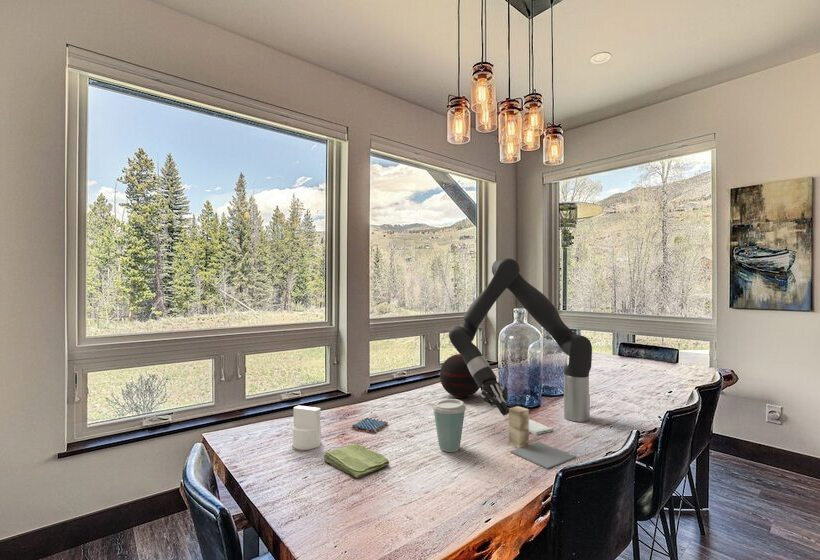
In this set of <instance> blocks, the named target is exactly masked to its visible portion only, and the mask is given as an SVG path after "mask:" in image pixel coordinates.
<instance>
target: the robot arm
mask: <svg viewBox="0 0 820 560" xmlns="http://www.w3.org/2000/svg"><path fill="white" fill-rule="evenodd" d="M491 273H492V275H493V276H492V278H491V280H490V282H489V283H488V284H487V286H486V287H485V289H483V290H482V292H481V293H480V294H479V295H478V296H477V297H476V298H475V299H474V300H473V302H472V303H471V304H470V306H469V307H468V309H467V310H466V312H465V313H464V315H463V321H464V323H463V325H462V326H459V325H455V326H452V327H451V328H450V329H449V330H448V331H449V332H448V338H449V341H450V342H451V344H452V346H453V347H454V349H455V350H456V351H457V352H458V354H460V355H461V356H462V358H463V360H464V361H465V363H466V365H467V367H468V369H469V371H470V373H471V375H472V377H473V378H474V380H475V382H476V384H477V385H478V387H479V389H480V391H481V392H480V393H479V395H478V397H479V398H480V399H481V400H483V401H484V402H486V403H487V404H489V405H490V406H495V407H497V409H498V410H499V412H500V414H501V415H502V416H503V417H504V416H507V415H509V407H508V406H507V403H506V401H507V400H508V386H501V384H500V382H499V381H497V376H496V374H495V372H494V370H493V369H492V367H491V365H490V364H489V361H488V360H487V359H485V357H484V355H483V354H482V352H481V350H480V349H479V348H478V347H477V346H476V344H474V343H473V341H474V339H475V338H476V337H475V336H476V335H477V332H478V330H479V326H480V325H481V323H482V322H483V321H484V319H485V317H487V315H488V313H489V311H490V310H491V308H492V307H493V306H494V304H495V303H496V301H497V300H498V299H499V298H500V296H501V295H502V294H503V292H504V291H506V289H508V291H510V292H511V294H512V295H513V296H514V297H515V299H516V300H517V301H518V302H519V304H520V305H521V306H522V307H523V308H524V309H525V310H526V312H527V313H528V314H529V315H530V317H532V318H533V319H534V320H535V321H536V322H537V323H538V324H539V325H540V326H541V327H542V328H543V329H544V330H545V331H546V332H547V333H548V334H549V335H550V336H551V337H552V339H553V340H554V341H555V343H556V344H557V345H558V346H559V349H560V350H562V352H563V353H564V354H565V355H567V356H568V364H567V365H566V366H565V367H564V368H563V418H564V419H566V420H569V421H572V422H580V423H581V422H582V423H583V422H588V421H589V419H590V417H591V416H590V413H591V410H590V409H591V408H590V407H591V406H590V405H591V404H590V402H591V401H590V400H591V395H590V371H591V369H592V361H593V346H592V341H590V339H589V338H588V337H586V336H585V335H581V334H577V333H576V332H574V331H572V330H571V329H570V328H569V327H568V326H567V325H566V323H564V321H563V320H562V317H561V315H560V313H559V312H558V310H557V308H556V306H555V305H554V304H553V303H552V302H551V301H550V300H549V299H548V297H547V296H546V295H544V293H542V292H541V291H540V290H539V289H537V288H536V287H534V285H532V284H530V283H529V281H527V280H526V279H525V278H524V277H523V276H522V275H521V273H520V265H519V263H518V262H517V260H515V259H513V258H508V257H505V258H504V257H502V258H498V259H496V260H495V261H494V262H493V263H492V265H491Z"/></svg>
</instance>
